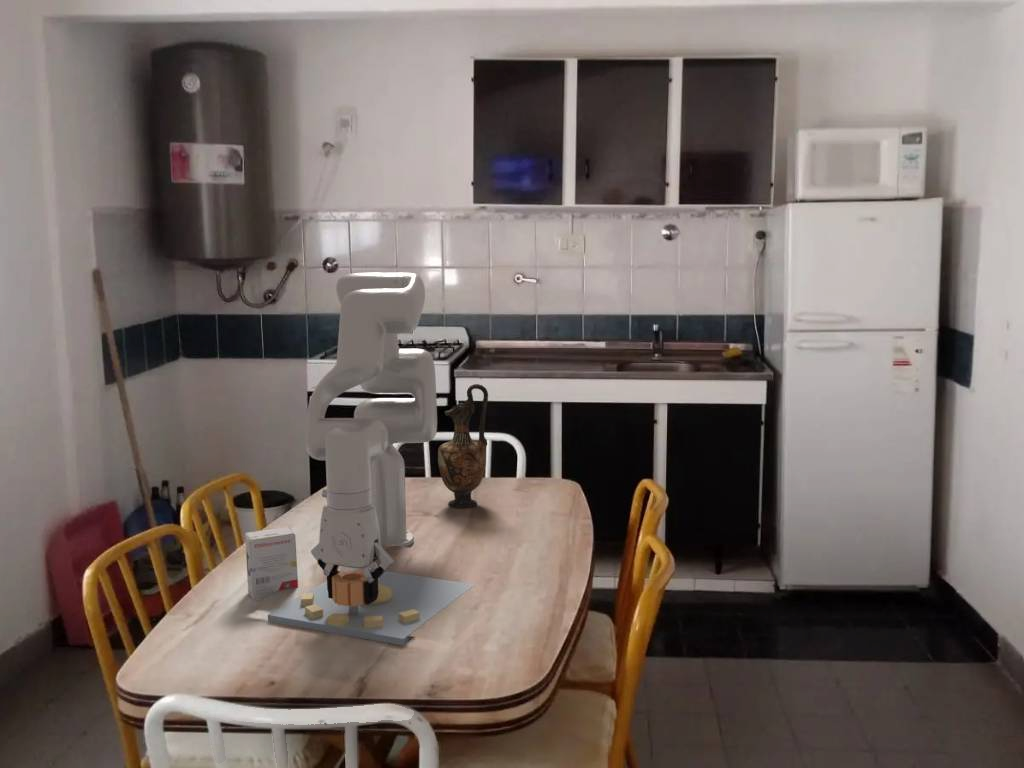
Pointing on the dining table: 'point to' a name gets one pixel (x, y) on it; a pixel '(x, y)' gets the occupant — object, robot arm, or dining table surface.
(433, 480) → the dining table surface
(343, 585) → the planet gear
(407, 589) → the carrier board
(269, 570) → the ink box
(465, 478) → the vase
